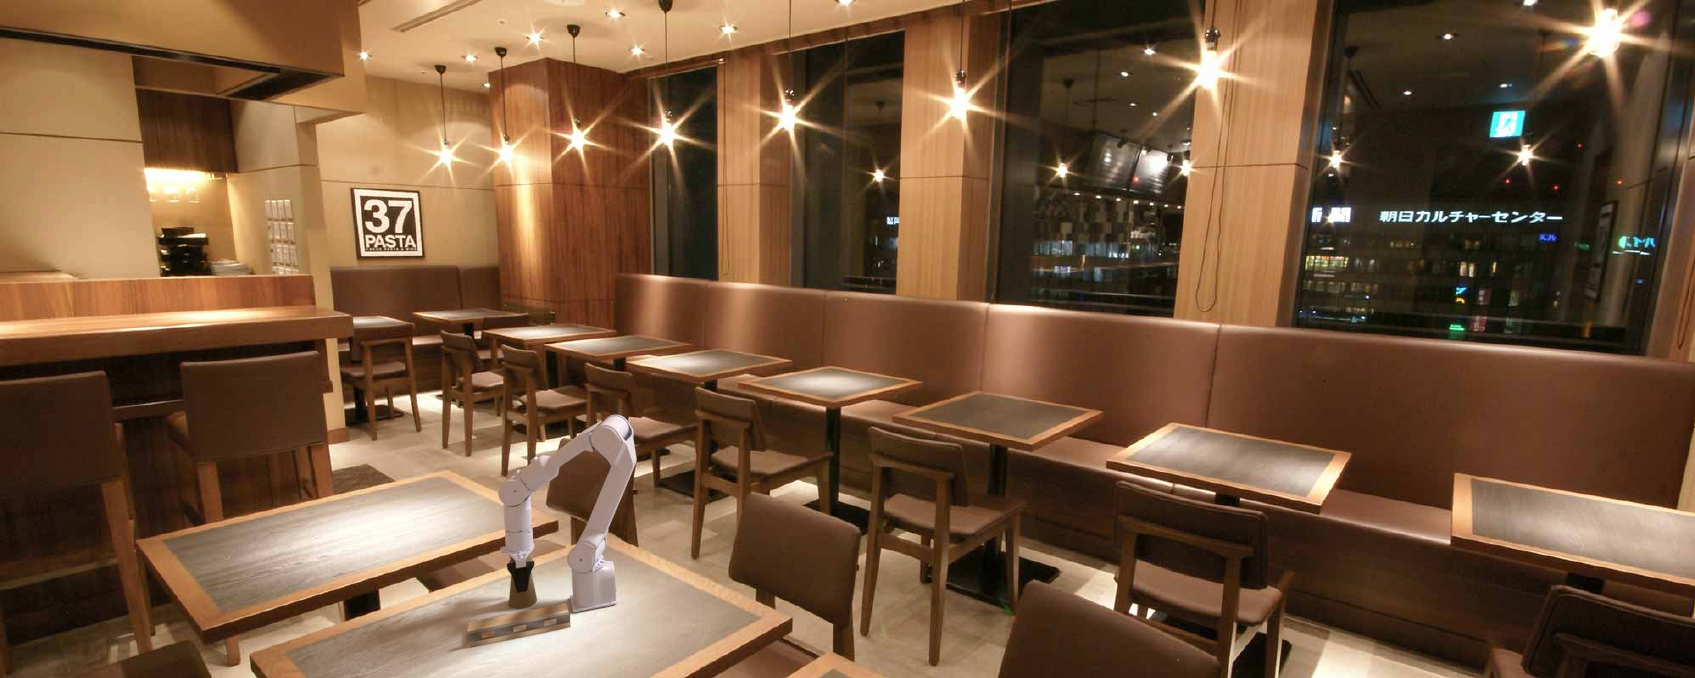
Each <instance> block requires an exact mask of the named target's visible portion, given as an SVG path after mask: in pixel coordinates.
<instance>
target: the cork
mask: <svg viewBox="0 0 1695 678" xmlns="http://www.w3.org/2000/svg"><path fill="white" fill-rule="evenodd" d="M529 561H534V560H533V558H532V557H531V556H528V557H527V558H526V562H529ZM514 562H516V561H515V560H514V559H513V558H512V559H511V558H510V560H509V561H508V563H514ZM537 602H538V597H537V592H536V587H535V583H534V578H533V573H532V572H531V574H530V578H529V585H528V590H527V591H526V592H520V593H517V591H516V588H515V584H514V580H513V578H512V575H511V574H510V585H509V597H508V608H511V609H513V610H521V609H526V608H529V607H532V606H533V605H535V604H536V603H537Z"/></svg>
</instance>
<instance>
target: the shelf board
mask: <svg viewBox="0 0 1695 678" xmlns="http://www.w3.org/2000/svg"><path fill="white" fill-rule="evenodd" d="M467 625H468V626H467V631H466V647H467V648H473V647H477V646H483V645H487V644H488V645H489V644H493V643H497V642H501V641H502V642H503V641H507V640H508V641H509V640H511V639H517V638H522V637H528V636H533V635H537V634H541V633H542V634H543V633H546V632H551V631H556V630H561V629H566V628H571V613H570V611H569V608H568V603H562V604H557V605H556V604H554V605H550V606H545V607H539V608H535V609H530V610H525V611H520V612H515V613H510V614H503V615H498V616H493V617H488V618H484V619H477V620H473V621H468V622H467Z"/></svg>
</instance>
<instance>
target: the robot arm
mask: <svg viewBox="0 0 1695 678" xmlns="http://www.w3.org/2000/svg"><path fill="white" fill-rule="evenodd" d="M634 441H635V440H634V429H633V427H632V426H631V424H630V422H629V421H628V420H627V419H626V417H624V416H622V415H620V414H611V415H609V416H607V417H606V418H605V419H604V420H603V421H602V420H601V421H599V422H597V423H595V424H593V425H591V426H590V427H588V428H587V429H584V430H583V431H582V432H581V433H579V434H578V435H577V436H575V437H574V438H572V440H570V441H569V442H567V443H566V444H565V445H564V446H562V447H561V448H560V449H559V450H557V451H555V452H554V453H553V454H552V455H545V454H544V455H543V454H542V455H540V456H539V457H538V456H534V457H533V458H532V459H531V460H529V461H530V463H529V464H528V465H527V466H525V467H523V468H522V469H517V470H516V471H515V472H514V473H513V475H512V476H511V477H510V478H508V479H507V480H506V481H504V482H503V483H502V484H501V486H500V487H499V489H498V493H497V494H498V498H499V501H500V502H501V503H502V504H503V518H504V521H503V522H504V536H505V537H504V539H505V546H500V548H499V549H500V551H499V552H500V553H501V554H506V555H508V556H509V558H510V560H511V559H512V558H513V559H514V560H515V561H516V562H514V563H509V562H508V563H506V569H507V571H508V573H510V574H509V575H510V576H511V575H512V578H513V580H514V584H515V588H516V591H517V593H520V592H526V591H527V590H528V585H529V578H530V574H531V573H532V571H533V569H534V567H535V563H536V562H535V560H533V561H529V562H526V558H527V557H528V556H530V555H531V553H532V552H533V550H534V549H535V543H534V535H533V534H534V531H533V515H532V514H533V513H532V512H533V511H532V498H531V497H532V494H533V493H535V492H537V491H538V490H540V489H541V488H542V487H544V486H545V485H547V484H548V483H549V482H550V481H552V480H553V479H555V478H557V476H558V475H559V473H560V472H559V470H560V467H562V466H563V465H564V464H566V463H568V462H570V461H571V460H572V459H574V458H575V457H576V456H578V455H579V454H581V453H582V452H584V451H587V452H591V453H592V452H594V451H597V452H598V453H600V454H601V455H602V456H603V457H604V458H605V459H606V460H607V462H608V463H609V465H610V469H609V471H608V473H607V475H606V478H605V481H604V482H603V484H602V485H603V486H602V487H601V490H600V493H599V495H598V496H597V497H598V498H597V499H596V502H595V505H594V507H593V510H592V511H591V513H590V516H589V519H588V521H587V523H586V526H585V528H584V530H583V531H582V533H581V535H580V537H579V539H578V540H577V542H576V543H575V545H574V546H573V547H572V548H571V549H570V550H569V551H568V554H567V556H566V557H567V560H566V561H567V565H568V566H569V567H570V569H571V583H572V584H571V585H572V586H571V587H572V594H570V596H569V598H570V603H571V609H572V612H573V613H579V612H584V611H589V610H594V609H599V608H605V607H610V606H614V605H617V585H616V583H617V582H616V572H615V571H616V570H615V564H614V561H612V560H605V558H604V555H603V553H604V552H605V550H606V549H607V545H608V543H607V542H608V541H607V535H608V533H609V527H610V526H611V523H612V521H613V518H614V515H615V514H616V512H617V509H618V506H619V505H620V504H619V503H620V501H621V499H622V498H623V495H624V493H625V490H626V487H627V485H628V482H630V481H629V480H630V478H631V476H632V473H633V472H634V469H635V467H636V464H637V454H636V448H635V447H636V446H635V442H634ZM530 557H531V556H530Z"/></svg>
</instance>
